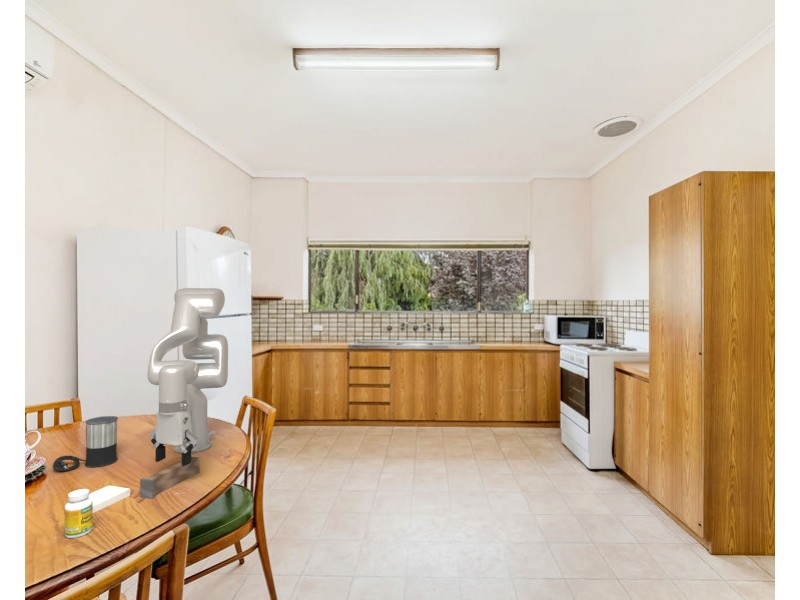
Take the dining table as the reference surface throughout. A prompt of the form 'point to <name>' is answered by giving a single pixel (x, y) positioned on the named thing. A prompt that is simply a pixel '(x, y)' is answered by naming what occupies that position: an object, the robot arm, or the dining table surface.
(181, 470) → the bar
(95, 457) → the milk frother
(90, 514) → the supplement bottle
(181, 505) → the dining table surface
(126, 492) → the tile
